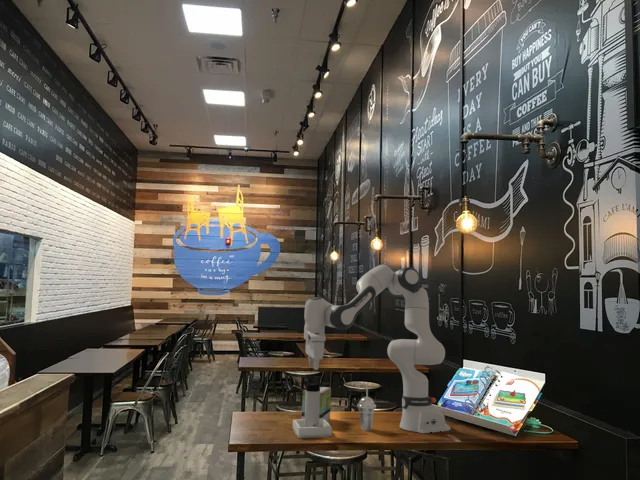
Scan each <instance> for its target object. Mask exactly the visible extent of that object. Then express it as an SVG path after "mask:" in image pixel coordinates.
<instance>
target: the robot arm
mask: <svg viewBox="0 0 640 480" xmlns="http://www.w3.org/2000/svg"><path fill="white" fill-rule="evenodd" d="M421 280H422V279H421V276H420V273H419V272H418V270H417V269H416V268H414V267H411V266H409V267H408V266H406V267H403V268H401V269H398V270H397V271H393V270H392V269H391V268H390V266H389V265H386V264H379V265H376V266H375V267H373V268H371V269H370V270H368V271H367V272H366V273H365V274H363V275H362V276H361V277H360V278H359V279H358V280H357V281H356V287H355V288H356V292H357V293H358V294H357V295H356V296H355V297H354V298H353V299H352V300H350V302H348V303H347V304H344V305H337V304H336V305H334V304H332V303H330V302H328V301H327V300H326V299H324V298H323V297H322V296H321V297H320V296H317V297H316V296H315V297H310V298H308V299H307V300H306V302H305V305H304V314H303V315H304V317H303V318H304V325H303V327H304V328H303V330H304V331H303V339H304V340H305V354H306V355H307V356H308V357H307V359H308V365H309V367H313V369H314V371H317V370H319V364H320V361H322V360H323V359H324V352H325V342H326V340H327V338H326V334H325V333H326V332H325V329H326V326H327V327H329V328H335V329H338V330H339V331H340V330H341V331H345V330H348V329H350V328H351V327H352V325H353V324H354V322H355V320H356V318H357V317H358V315H360V314H361V313H362V311H364V310H365V309H366V308H367V306H369V305H370V303H372V301H373V300H374V299H375V298H376V297H377V296H378V295H379V294H380V293H382V292H383V291H384V290H385V292H386V293H388V294H389V296H392V297H401V296H403V298H404V301H405V302H404V303H405V304H404V305H405V306H404V326H405V328H406V329H407V330H408V331H410V333H413V334H415V335H416V336H417V339H411V338H410V339H405V338H400V339H399V338H398V339H394V340H391V341H390V342H389V344H388V346H387V349H386V350H387V352H386V353H387V356H388V358H389V359H390V361H391V362H392V363H394V364H395V365H396V366H397V368H398V369H399V372H400V374H401V378H402V385H403V386H402V389H403V393H402V396H401V397H402V398H401V406H402V412H401V419H400V423H399V428H400V429H402V430H405V431H408V432H409V431H410V432H416V433H420V434H430V432H432V433H440V431H441V432H449V430H450V431H452V430H451V426H450V425H449V424H447V423H446V419H445V415H444V414H443V413H442V412H441V410H439V409H438V408H437V407H436V406H434V405H433V404H434V403H436V402H437V399H436V398H435V397H431V396H429V379H428V378H427V375H425V374H424V373H422V372H420V370H419V371H418V370H417V369H416V368H415V365H424V366H431V365H432V366H433V365H434V366H435V365H440V364H442V362H443V361H444V359H445V358H446V357H445V356H446V349H445V347H444V345H443V344H442V343H441V342H440V341H439V340H438V339H437V338H436V337H435V336H434V334H433V333H432V330H431V328H430V303H429V296H428V291H427V290H426V289H425V288H423V287H422V285H423V283H422V281H421Z"/></svg>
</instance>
